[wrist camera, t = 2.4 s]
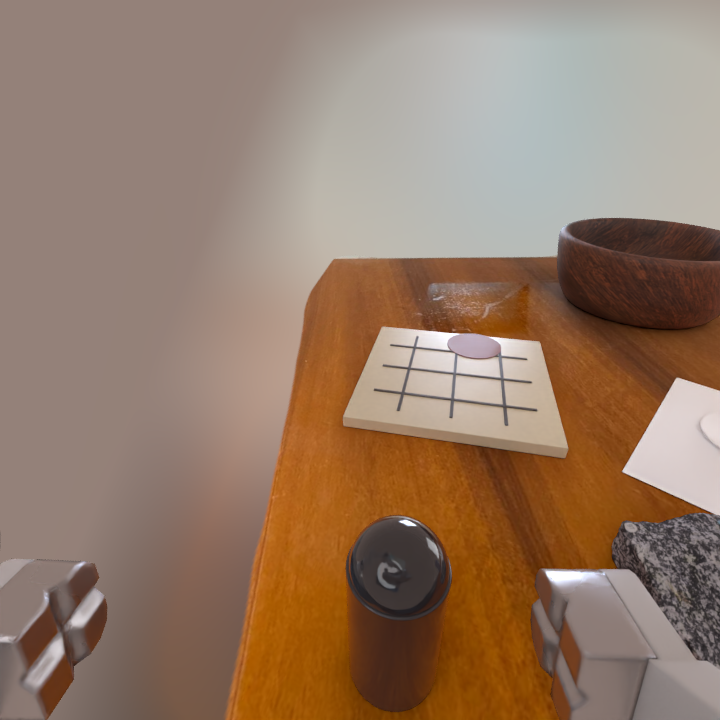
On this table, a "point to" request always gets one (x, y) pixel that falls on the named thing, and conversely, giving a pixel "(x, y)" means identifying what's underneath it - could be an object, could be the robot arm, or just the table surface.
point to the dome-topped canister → (396, 610)
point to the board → (459, 391)
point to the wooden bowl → (641, 271)
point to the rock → (679, 574)
